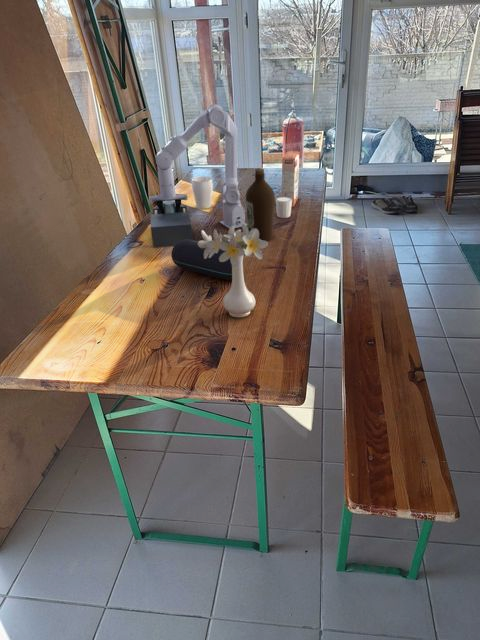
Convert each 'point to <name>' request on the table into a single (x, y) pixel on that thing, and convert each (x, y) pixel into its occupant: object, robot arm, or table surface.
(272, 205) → the olive oil
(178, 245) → the portable speaker
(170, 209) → the jug
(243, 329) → the table surface
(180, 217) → the cabinet
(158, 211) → the drawer
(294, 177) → the cracker box
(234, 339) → the table surface
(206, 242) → the flower vase
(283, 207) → the shot glass
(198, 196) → the cup
